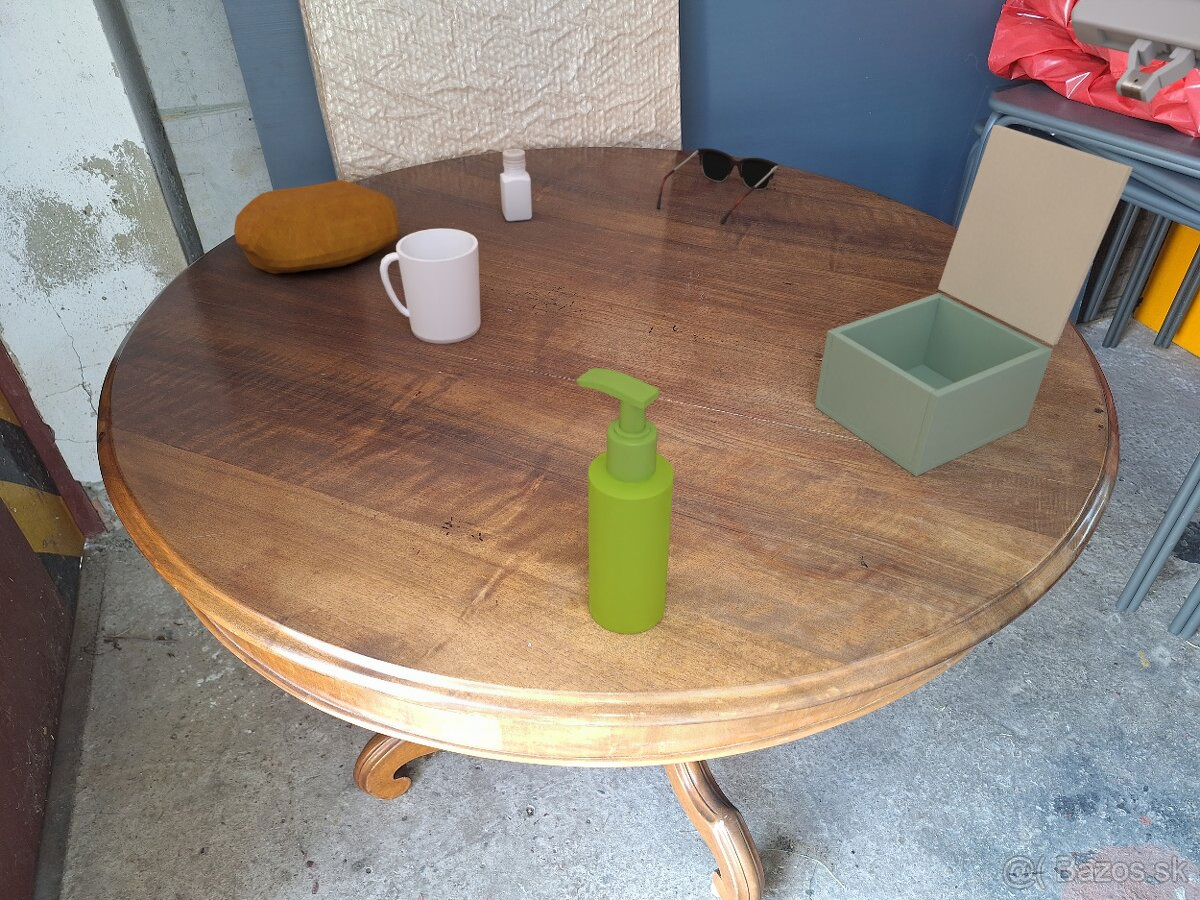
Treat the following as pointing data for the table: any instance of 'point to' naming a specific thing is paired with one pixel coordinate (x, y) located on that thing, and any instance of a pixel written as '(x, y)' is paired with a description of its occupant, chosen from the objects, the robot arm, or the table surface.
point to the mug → (438, 284)
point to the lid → (1032, 230)
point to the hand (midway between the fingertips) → (1130, 95)
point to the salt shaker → (515, 186)
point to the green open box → (929, 380)
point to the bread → (315, 226)
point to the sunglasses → (721, 166)
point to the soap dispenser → (628, 511)
